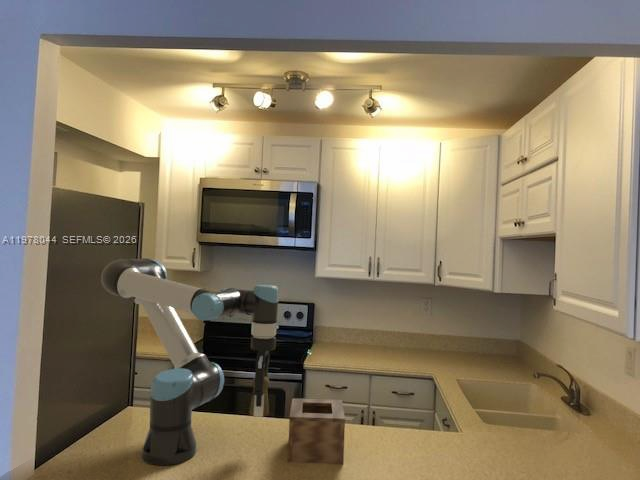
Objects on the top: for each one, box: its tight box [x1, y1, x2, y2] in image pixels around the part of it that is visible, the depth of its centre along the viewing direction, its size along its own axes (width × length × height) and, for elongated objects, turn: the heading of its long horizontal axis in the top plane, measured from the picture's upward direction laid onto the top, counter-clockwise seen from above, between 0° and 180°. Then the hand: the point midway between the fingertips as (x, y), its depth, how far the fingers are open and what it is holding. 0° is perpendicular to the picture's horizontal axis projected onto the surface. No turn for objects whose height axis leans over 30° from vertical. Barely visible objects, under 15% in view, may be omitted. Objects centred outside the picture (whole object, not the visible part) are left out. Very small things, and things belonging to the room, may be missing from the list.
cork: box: [248, 376, 270, 418], centre depth 138 cm, size 6×6×11 cm
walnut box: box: [287, 397, 346, 465], centre depth 139 cm, size 16×16×13 cm
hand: (259, 411), depth 138 cm, fingers closed on cork, 6 cm apart
